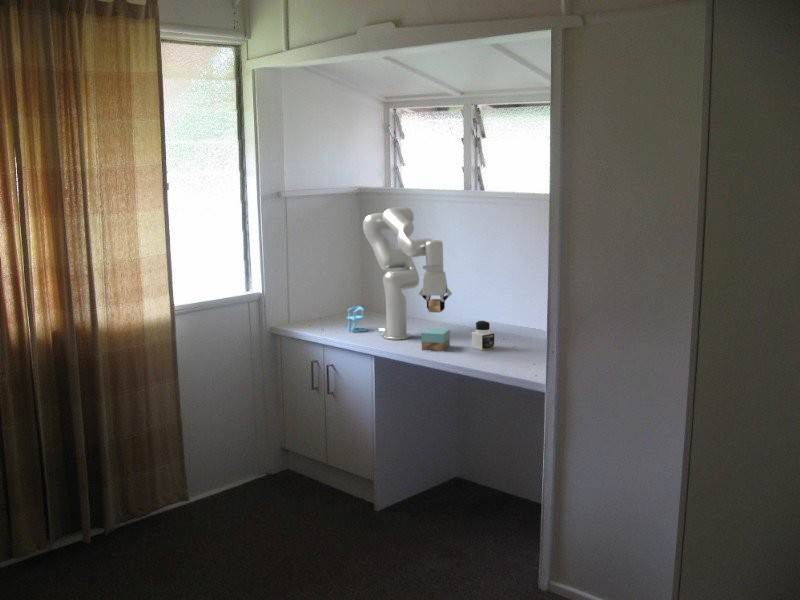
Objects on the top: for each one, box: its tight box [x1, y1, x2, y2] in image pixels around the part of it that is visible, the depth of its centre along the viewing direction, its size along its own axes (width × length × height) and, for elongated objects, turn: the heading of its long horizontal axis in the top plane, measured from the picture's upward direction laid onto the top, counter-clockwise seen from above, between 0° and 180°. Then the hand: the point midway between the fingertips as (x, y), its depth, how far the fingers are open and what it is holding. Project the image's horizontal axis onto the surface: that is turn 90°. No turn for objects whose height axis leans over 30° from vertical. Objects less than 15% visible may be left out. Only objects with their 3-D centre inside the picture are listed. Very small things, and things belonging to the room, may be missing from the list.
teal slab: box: [421, 327, 451, 343], centre depth 368 cm, size 10×10×4 cm
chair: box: [346, 305, 368, 333], centre depth 407 cm, size 8×8×12 cm
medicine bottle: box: [471, 320, 495, 351], centre depth 365 cm, size 7×7×12 cm
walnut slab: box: [421, 338, 451, 352], centre depth 368 cm, size 10×10×4 cm
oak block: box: [428, 298, 442, 314], centre depth 364 cm, size 5×5×5 cm
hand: (435, 309), depth 365 cm, fingers closed on oak block, 4 cm apart
